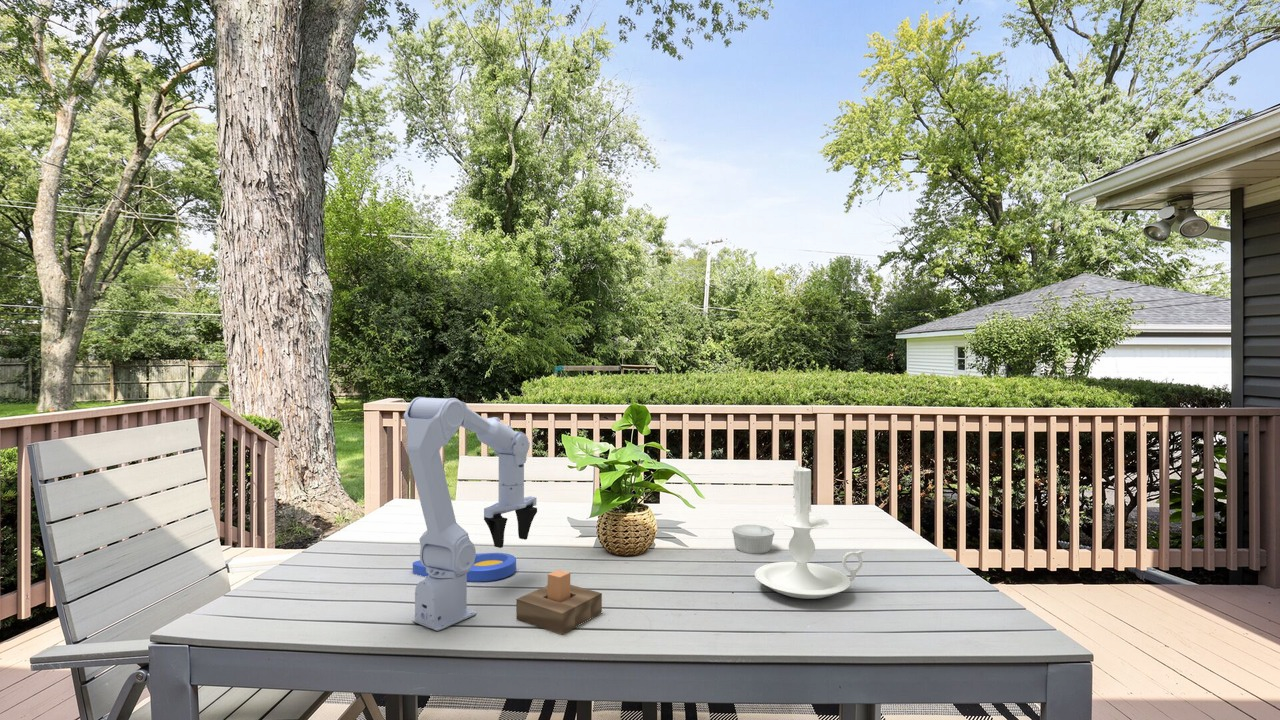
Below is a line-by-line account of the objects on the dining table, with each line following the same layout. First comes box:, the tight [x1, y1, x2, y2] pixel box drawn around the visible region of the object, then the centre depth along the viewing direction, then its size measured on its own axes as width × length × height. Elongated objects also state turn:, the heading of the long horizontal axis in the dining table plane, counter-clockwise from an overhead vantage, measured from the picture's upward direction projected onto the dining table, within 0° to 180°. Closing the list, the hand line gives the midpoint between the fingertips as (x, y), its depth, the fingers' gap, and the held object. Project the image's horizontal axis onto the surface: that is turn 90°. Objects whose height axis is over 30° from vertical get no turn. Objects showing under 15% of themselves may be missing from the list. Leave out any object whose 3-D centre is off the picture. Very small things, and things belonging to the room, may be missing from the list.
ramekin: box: [731, 524, 775, 555], centre depth 167 cm, size 11×11×5 cm
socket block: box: [515, 584, 603, 635], centre depth 122 cm, size 12×12×4 cm
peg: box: [547, 569, 571, 603], centre depth 122 cm, size 3×3×8 cm
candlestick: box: [754, 465, 865, 600], centre depth 136 cm, size 21×25×28 cm
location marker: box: [412, 552, 517, 583], centre depth 148 cm, size 13×3×25 cm
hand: (511, 542), depth 140 cm, fingers open, 7 cm apart
